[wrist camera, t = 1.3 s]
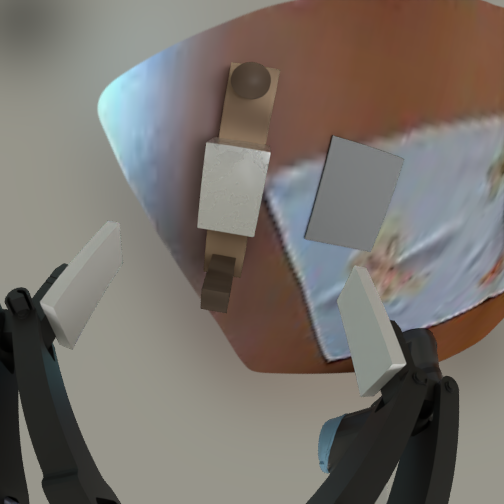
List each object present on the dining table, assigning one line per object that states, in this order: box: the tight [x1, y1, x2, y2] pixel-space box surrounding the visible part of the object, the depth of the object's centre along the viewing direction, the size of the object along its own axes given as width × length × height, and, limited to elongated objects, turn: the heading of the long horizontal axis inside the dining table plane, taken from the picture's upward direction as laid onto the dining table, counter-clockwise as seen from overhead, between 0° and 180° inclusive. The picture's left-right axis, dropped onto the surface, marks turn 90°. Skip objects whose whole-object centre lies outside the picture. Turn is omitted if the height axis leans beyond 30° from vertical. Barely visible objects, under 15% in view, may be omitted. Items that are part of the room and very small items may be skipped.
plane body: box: [201, 62, 280, 313], centre depth 27 cm, size 26×5×10 cm, turn 170°
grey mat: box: [305, 135, 404, 252], centre depth 32 cm, size 14×10×1 cm
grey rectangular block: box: [197, 137, 271, 237], centre depth 27 cm, size 9×6×4 cm, turn 170°
